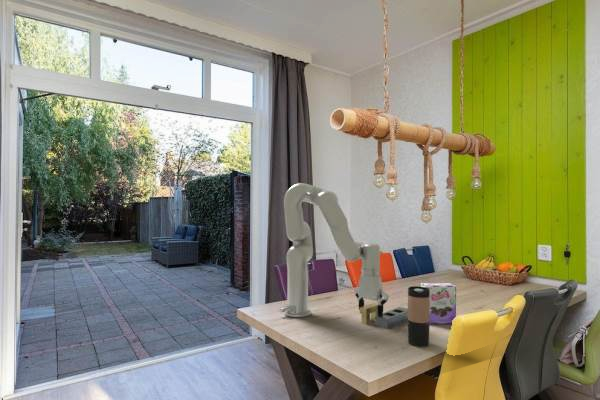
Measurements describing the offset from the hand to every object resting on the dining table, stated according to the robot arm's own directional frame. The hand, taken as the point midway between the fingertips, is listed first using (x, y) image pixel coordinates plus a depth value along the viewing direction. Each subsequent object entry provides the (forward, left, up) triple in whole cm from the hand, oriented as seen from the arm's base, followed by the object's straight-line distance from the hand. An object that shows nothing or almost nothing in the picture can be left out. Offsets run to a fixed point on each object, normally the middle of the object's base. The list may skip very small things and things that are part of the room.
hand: (370, 311), depth 158 cm
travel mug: (-9, -27, -4) cm, 29 cm away
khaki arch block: (0, 0, -4) cm, 4 cm away
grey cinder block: (+6, -8, -4) cm, 11 cm away
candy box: (+20, -21, -4) cm, 29 cm away
